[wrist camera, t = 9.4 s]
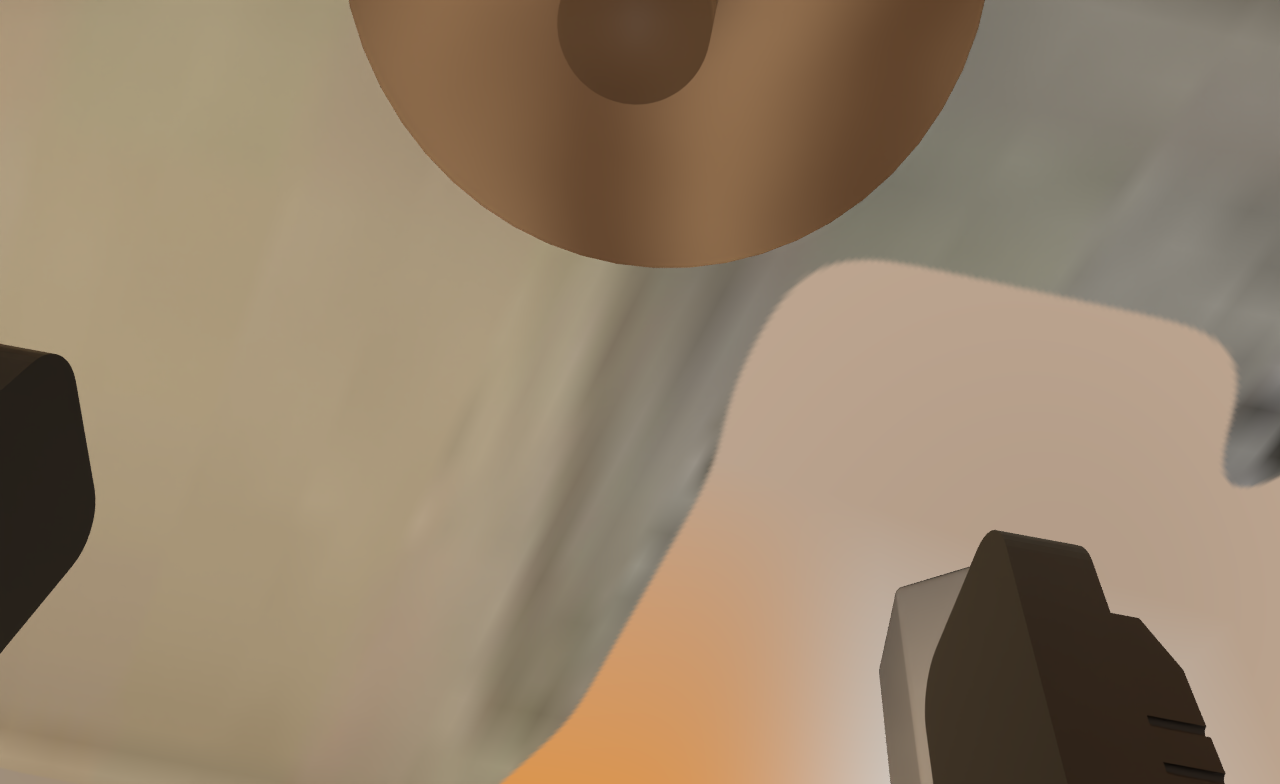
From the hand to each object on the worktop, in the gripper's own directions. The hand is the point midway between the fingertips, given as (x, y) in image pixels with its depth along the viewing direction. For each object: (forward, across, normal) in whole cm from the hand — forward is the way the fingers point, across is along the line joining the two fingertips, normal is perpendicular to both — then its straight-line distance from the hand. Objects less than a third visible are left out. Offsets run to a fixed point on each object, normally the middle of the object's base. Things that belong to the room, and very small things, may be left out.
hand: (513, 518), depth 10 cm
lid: (+18, +1, -1) cm, 18 cm away
